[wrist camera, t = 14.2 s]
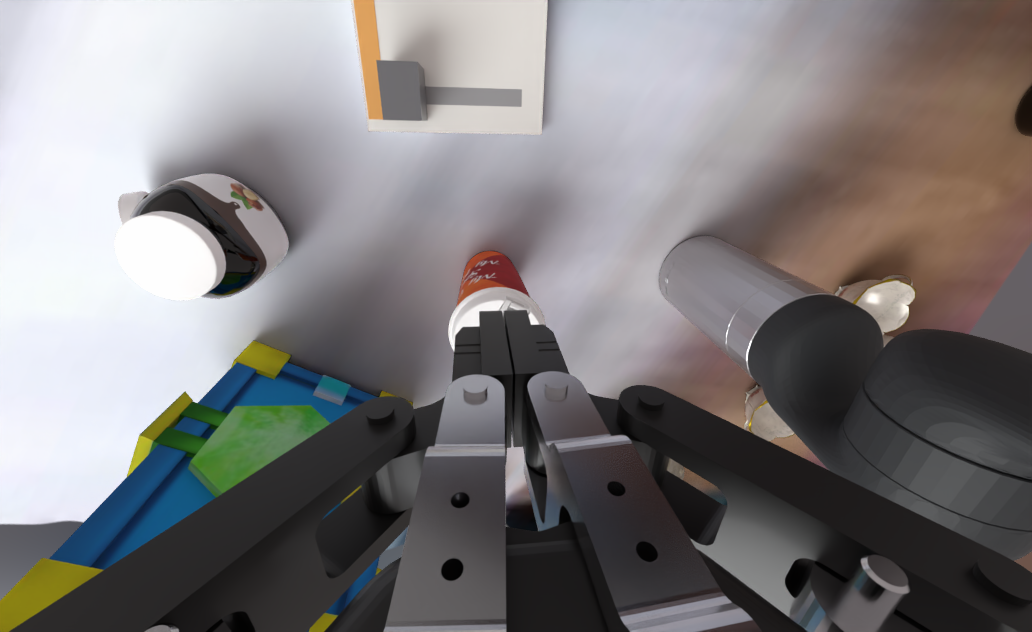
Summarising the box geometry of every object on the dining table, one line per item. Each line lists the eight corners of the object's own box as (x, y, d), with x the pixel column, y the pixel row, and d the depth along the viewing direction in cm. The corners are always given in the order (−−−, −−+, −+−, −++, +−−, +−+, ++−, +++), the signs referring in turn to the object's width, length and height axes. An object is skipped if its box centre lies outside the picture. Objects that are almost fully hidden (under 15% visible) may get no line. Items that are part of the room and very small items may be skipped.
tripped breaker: (424, 68, 34) (417, 61, 30) (427, 120, 36) (421, 120, 32) (388, 67, 34) (376, 60, 29) (393, 119, 36) (383, 120, 31)
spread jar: (310, 243, 42) (257, 284, 32) (231, 298, 44) (158, 354, 33) (213, 138, 37) (113, 146, 26) (129, 205, 39) (4, 237, 28)
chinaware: (830, 244, 50) (967, 290, 35) (931, 289, 53) (1098, 349, 38) (709, 411, 61) (774, 501, 46) (798, 441, 64) (887, 536, 49)
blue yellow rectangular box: (250, 321, 45) (-67, 615, 18) (434, 395, 52) (398, 684, 26) (216, 410, 50) (-76, 746, 23) (389, 467, 57) (319, 773, 30)
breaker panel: (547, -82, 32) (551, -94, 31) (538, 133, 40) (541, 134, 38) (344, -97, 31) (336, -111, 29) (373, 130, 38) (368, 131, 36)
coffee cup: (472, 227, 43) (474, 277, 30) (538, 259, 45) (566, 318, 32) (441, 292, 46) (430, 363, 33) (504, 318, 48) (517, 395, 35)
